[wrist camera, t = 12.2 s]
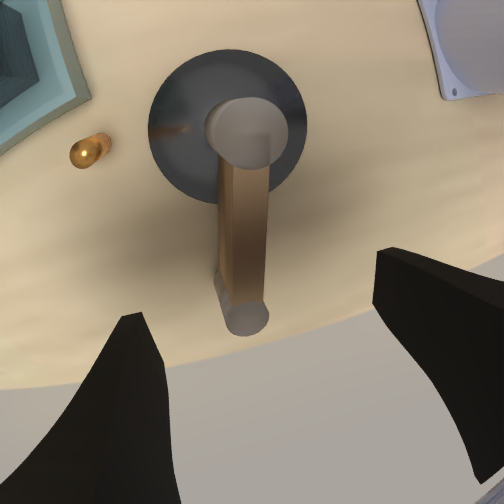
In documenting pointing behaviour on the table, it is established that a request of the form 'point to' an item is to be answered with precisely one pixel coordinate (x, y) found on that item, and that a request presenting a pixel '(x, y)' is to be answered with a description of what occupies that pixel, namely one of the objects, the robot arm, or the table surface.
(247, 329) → the crank
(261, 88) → the crank base
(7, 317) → the table surface
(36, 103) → the tray
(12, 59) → the block
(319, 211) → the table surface
